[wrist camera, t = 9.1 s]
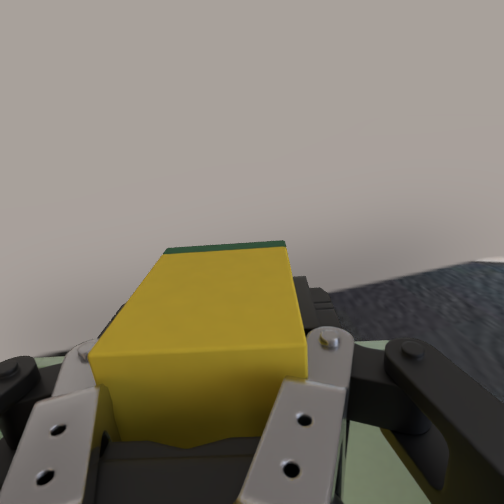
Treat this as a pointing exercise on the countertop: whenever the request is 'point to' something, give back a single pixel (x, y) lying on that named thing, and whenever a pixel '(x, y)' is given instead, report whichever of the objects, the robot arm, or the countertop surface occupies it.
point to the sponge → (203, 345)
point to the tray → (360, 460)
